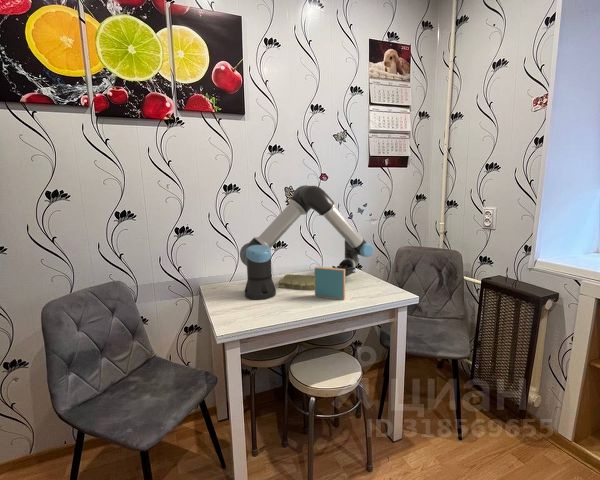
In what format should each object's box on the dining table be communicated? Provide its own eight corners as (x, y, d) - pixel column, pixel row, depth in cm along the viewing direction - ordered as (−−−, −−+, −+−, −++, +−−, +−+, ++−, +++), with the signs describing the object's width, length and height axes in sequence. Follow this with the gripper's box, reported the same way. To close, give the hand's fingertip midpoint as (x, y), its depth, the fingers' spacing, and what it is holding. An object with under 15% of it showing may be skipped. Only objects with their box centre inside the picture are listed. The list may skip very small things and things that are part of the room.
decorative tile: (285, 279, 184) (285, 273, 183) (320, 280, 180) (320, 274, 179) (276, 290, 166) (276, 283, 165) (315, 291, 162) (315, 284, 161)
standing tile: (314, 296, 153) (314, 268, 151) (316, 294, 156) (316, 266, 153) (343, 300, 148) (343, 270, 145) (345, 298, 150) (345, 269, 148)
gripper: (358, 273, 179) (348, 286, 157) (335, 271, 184) (322, 283, 162) (358, 260, 177) (348, 271, 156) (335, 258, 182) (322, 269, 161)
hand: (335, 277), depth 159 cm, fingers closed
